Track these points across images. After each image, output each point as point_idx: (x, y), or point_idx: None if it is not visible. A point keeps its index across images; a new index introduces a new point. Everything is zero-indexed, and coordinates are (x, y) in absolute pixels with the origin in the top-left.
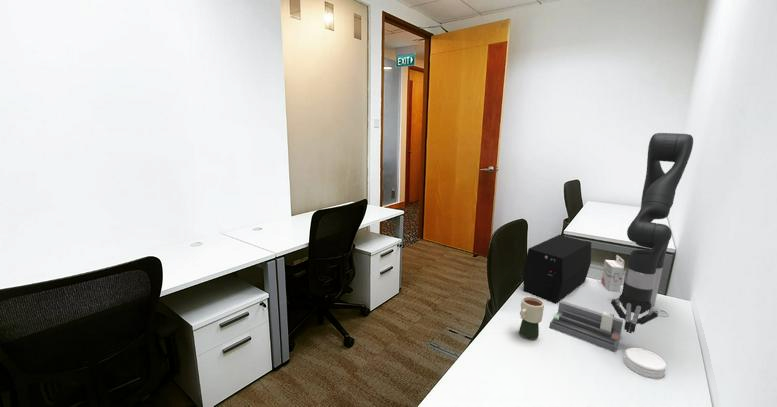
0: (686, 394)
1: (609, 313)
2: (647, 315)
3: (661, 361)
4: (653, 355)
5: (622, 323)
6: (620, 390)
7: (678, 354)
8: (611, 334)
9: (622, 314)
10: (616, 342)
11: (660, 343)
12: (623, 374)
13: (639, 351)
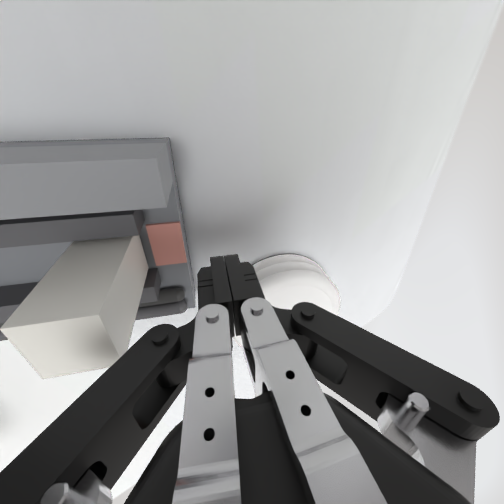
0: (355, 319)
1: (65, 333)
2: (365, 388)
3: (330, 305)
4: (312, 293)
5: (164, 181)
6: (241, 392)
7: (401, 117)
8: (155, 285)
9: (175, 396)
10: (187, 281)
11: (351, 52)
12: (238, 355)
13: (271, 303)
